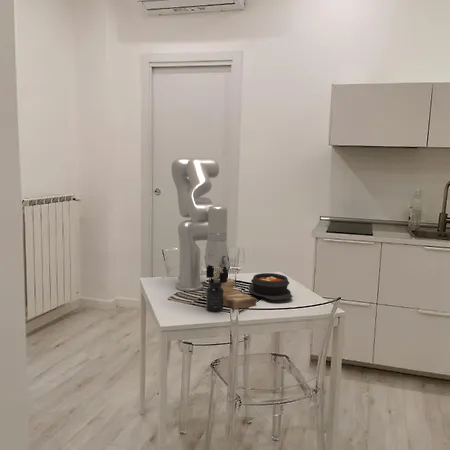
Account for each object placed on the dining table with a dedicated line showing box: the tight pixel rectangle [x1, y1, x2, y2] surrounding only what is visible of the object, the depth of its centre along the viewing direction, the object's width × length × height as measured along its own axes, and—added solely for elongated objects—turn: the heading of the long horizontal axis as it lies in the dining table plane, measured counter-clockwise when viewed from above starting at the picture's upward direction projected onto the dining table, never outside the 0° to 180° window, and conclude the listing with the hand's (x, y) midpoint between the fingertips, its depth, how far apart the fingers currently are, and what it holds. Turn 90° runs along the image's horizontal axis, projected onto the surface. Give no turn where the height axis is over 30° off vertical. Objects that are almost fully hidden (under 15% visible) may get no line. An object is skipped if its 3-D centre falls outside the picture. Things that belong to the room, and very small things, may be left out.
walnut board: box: [223, 288, 257, 310], centre depth 198 cm, size 18×11×3 cm, turn 33°
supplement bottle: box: [205, 278, 224, 313], centre depth 187 cm, size 7×7×12 cm
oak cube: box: [217, 277, 235, 293], centre depth 203 cm, size 5×5×5 cm
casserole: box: [248, 272, 293, 301], centre depth 209 cm, size 25×19×8 cm
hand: (216, 279), depth 185 cm, fingers open, 9 cm apart
